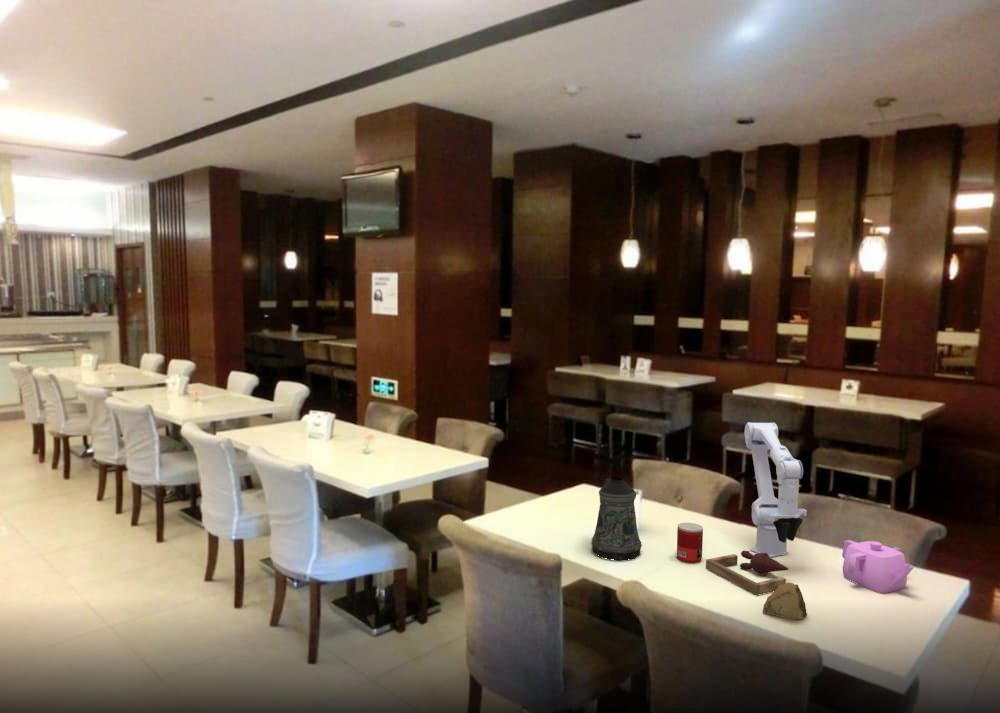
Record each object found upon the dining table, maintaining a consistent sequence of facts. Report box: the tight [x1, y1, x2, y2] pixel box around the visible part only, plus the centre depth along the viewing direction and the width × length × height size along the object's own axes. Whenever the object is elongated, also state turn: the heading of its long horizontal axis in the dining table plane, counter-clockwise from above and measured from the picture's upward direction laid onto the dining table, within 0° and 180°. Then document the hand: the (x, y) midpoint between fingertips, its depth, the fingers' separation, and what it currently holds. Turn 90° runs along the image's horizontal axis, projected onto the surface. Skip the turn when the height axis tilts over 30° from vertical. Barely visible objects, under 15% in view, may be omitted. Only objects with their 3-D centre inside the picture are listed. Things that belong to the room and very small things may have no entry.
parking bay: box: [705, 553, 787, 596], centre depth 206 cm, size 12×21×3 cm, turn 24°
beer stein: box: [591, 475, 642, 561], centre depth 227 cm, size 16×19×25 cm
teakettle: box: [841, 539, 914, 594], centre depth 203 cm, size 17×17×12 cm
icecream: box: [739, 550, 789, 577], centre depth 209 cm, size 7×7×15 cm
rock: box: [762, 582, 808, 620], centre depth 183 cm, size 11×9×10 cm
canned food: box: [676, 522, 704, 564], centre depth 220 cm, size 8×8×11 cm
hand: (786, 540), depth 212 cm, fingers open, 3 cm apart
